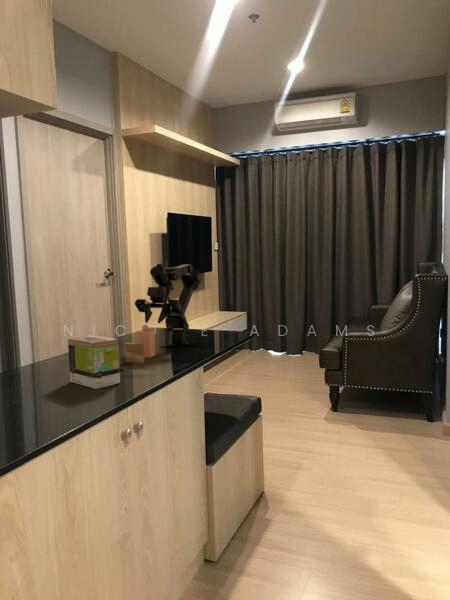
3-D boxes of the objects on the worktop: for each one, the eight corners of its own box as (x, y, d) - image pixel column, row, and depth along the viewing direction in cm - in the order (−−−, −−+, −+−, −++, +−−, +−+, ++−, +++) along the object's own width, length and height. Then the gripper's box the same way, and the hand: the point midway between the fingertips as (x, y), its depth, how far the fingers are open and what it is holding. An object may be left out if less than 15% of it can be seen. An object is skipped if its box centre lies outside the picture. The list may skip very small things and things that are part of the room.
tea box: (121, 383, 167) (119, 338, 165) (94, 390, 160) (92, 343, 158) (95, 376, 177) (93, 333, 176) (69, 382, 170) (66, 337, 168)
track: (146, 355, 207) (145, 335, 206) (162, 356, 205) (161, 336, 204) (125, 365, 192) (124, 343, 191) (142, 366, 189) (141, 344, 188)
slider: (143, 354, 203) (142, 323, 201) (155, 355, 201) (153, 324, 200) (138, 357, 198) (136, 325, 197) (149, 357, 197) (148, 326, 195)
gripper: (135, 279, 210) (123, 309, 201) (177, 279, 204) (167, 310, 195) (145, 296, 218) (134, 326, 209) (186, 296, 212) (176, 327, 203)
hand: (152, 322), depth 204 cm, fingers open, 5 cm apart
